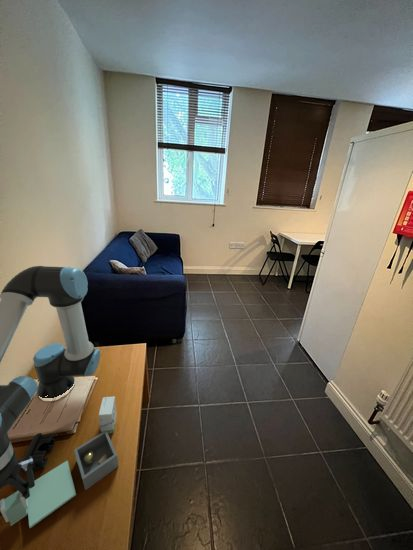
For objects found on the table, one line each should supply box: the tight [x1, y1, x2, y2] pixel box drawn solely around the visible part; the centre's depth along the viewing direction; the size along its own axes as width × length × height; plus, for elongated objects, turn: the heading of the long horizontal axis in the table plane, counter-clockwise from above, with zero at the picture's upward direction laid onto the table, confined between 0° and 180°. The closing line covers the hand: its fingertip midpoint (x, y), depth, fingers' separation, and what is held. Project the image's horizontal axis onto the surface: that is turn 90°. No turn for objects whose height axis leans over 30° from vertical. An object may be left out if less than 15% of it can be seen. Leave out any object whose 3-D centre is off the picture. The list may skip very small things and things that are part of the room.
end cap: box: [19, 432, 56, 474], centre depth 81 cm, size 10×7×7 cm
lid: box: [4, 460, 77, 529], centre depth 69 cm, size 12×16×8 cm
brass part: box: [84, 451, 94, 467], centre depth 81 cm, size 3×3×4 cm
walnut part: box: [98, 454, 110, 465], centre depth 80 cm, size 3×3×3 cm
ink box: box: [98, 395, 118, 435], centre depth 92 cm, size 8×5×12 cm, turn 12°
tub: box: [73, 431, 119, 491], centre depth 80 cm, size 11×11×7 cm
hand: (17, 510), depth 66 cm, fingers closed on lid, 3 cm apart
